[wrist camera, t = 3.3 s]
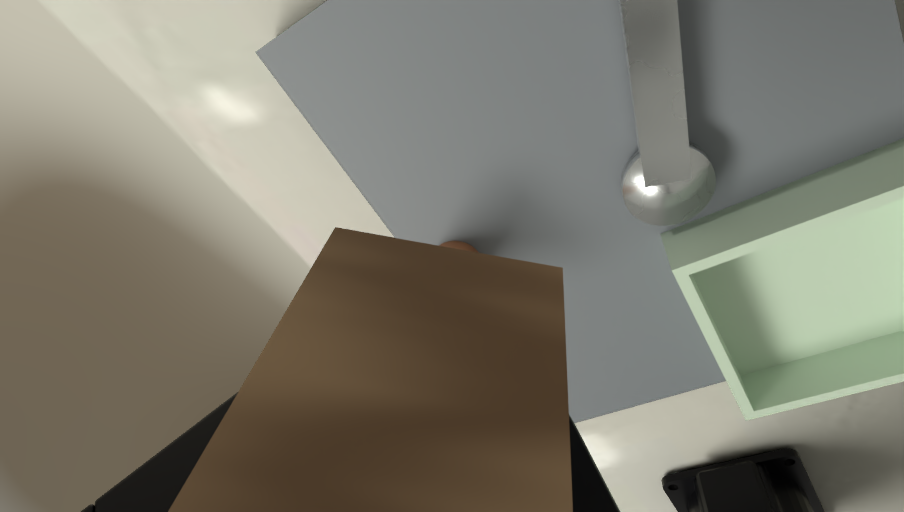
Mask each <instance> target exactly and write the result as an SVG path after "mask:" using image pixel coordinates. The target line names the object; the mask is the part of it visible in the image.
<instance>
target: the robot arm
mask: <svg viewBox="0 0 904 512" xmlns="http://www.w3.org/2000/svg"><path fill="white" fill-rule="evenodd" d="M237 394H238V392H237V393H236V394H235V395H233V396H232V397H231V398H229V399H228V400H227V401H225V402H224V403H223V404H221V405H220V406H219V407H218V408H216V409H215V410H214V411H212V412H211V413H210V414H208V415H207V416H206V417H204V418H203V419H202V420H201V421H199V422H198V423H197V424H195V425H194V426H193V427H191V428H190V429H189V430H187V431H186V432H185V433H183V434H182V435H181V436H180V437H178V438H177V439H176V440H174V441H173V442H172V443H170V444H169V445H168V446H167V447H165V448H164V449H163V450H161V451H160V452H159V453H157V454H156V455H155V456H153V457H152V458H151V459H150V460H148V461H147V462H146V463H144V464H143V465H142V466H140V467H139V468H138V469H136V470H135V471H134V472H133V473H131V474H130V475H128V476H127V477H126V478H125V479H123V480H122V481H121V482H119V483H118V484H117V485H115V486H114V487H113V488H111V489H110V490H109V491H108V492H106V493H105V494H104V495H102V496H101V497H100V498H98V499H97V500H96V501H95V506H94V505H93V504H91V505H89V506H88V507H86V508H85V509H84V510H82V511H81V512H168V511H169V509H170V508H171V506H172V504H173V502H174V501H175V499H176V497H177V496H178V494H179V492H180V491H181V489H182V487H183V485H184V484H185V482H186V480H187V479H188V477H189V475H190V474H191V472H192V470H193V468H194V467H195V465H196V463H197V462H198V460H199V458H200V457H201V455H202V453H203V451H204V450H205V448H206V446H207V445H208V443H209V441H210V440H211V438H212V436H213V434H214V433H215V431H216V429H217V428H218V426H219V424H220V423H221V421H222V419H223V417H224V416H225V414H226V412H227V411H228V409H229V407H230V406H231V404H232V402H233V400H234V399H235V397H236V395H237ZM569 430H570V454H571V478H572V502H573V512H620V510H619V508H618V507H617V505H616V503H615V501H614V499H613V497H612V495H611V493H610V491H609V489H608V487H607V485H606V483H605V482H604V480H603V478H602V476H601V474H600V472H599V470H598V468H597V466H596V464H595V462H594V460H593V458H592V456H591V455H590V453H589V451H588V449H587V447H586V445H585V443H584V441H583V439H582V437H581V435H580V433H579V431H578V430H577V428H576V426H575V424H574V422H573V420H572V418H571V416H570V415H569ZM662 485H663V489H664V491H665V493H666V494H667V496H668V497H669V499H670V500H671V502H672V503H673V505H674V506H675V508H676V510H677V511H678V512H824V510H823V508H822V506H821V504H820V501H819V499H818V497H817V495H816V492H815V490H814V488H813V486H812V483H811V481H810V479H809V477H808V475H807V472H806V470H805V468H804V466H803V463H802V461H801V459H800V457H799V455H798V452H797V451H796V450H793V449H781V450H777V451H772V452H768V453H763V454H759V455H754V456H750V457H746V458H741V459H737V460H732V461H728V462H723V463H719V464H715V465H710V466H706V467H701V468H697V469H692V470H688V471H683V472H679V473H675V474H670V475H667V476H664V477H663V478H662Z"/></svg>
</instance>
